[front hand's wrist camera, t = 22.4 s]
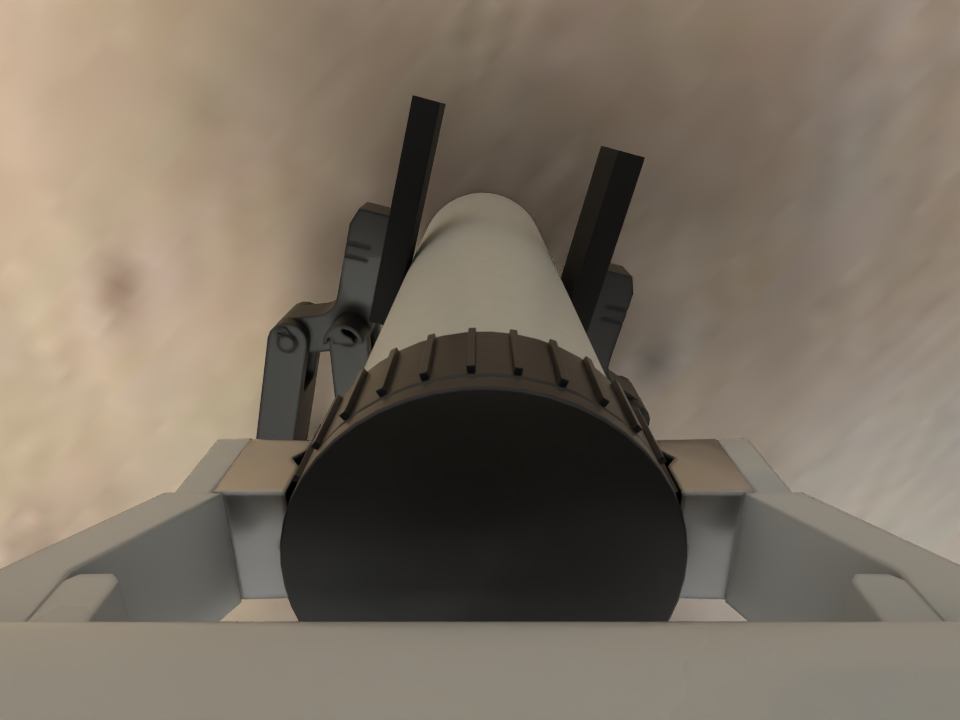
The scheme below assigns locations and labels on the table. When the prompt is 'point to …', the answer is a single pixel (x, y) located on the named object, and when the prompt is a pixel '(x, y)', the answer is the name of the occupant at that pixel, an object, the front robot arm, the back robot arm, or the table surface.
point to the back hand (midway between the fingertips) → (526, 127)
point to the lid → (483, 494)
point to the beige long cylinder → (482, 281)
